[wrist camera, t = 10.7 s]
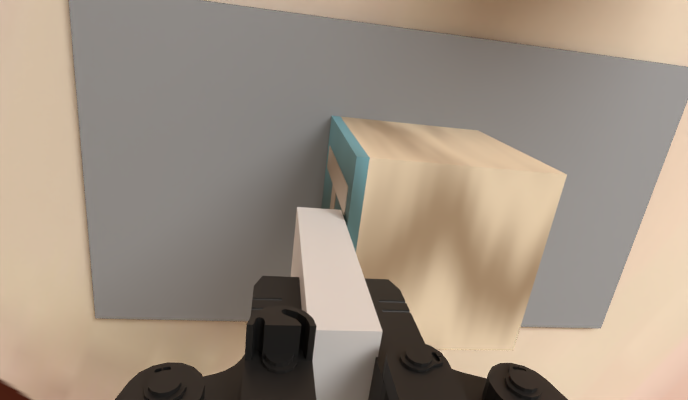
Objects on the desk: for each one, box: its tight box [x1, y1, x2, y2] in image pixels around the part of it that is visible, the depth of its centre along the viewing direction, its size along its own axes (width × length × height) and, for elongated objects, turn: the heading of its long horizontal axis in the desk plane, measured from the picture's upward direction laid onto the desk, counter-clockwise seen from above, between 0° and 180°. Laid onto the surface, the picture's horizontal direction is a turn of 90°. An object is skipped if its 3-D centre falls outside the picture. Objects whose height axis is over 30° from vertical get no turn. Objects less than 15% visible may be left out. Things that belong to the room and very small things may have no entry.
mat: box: [69, 0, 688, 328], centre depth 22 cm, size 15×28×1 cm, turn 83°
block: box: [321, 116, 567, 350], centre depth 18 cm, size 7×7×7 cm
